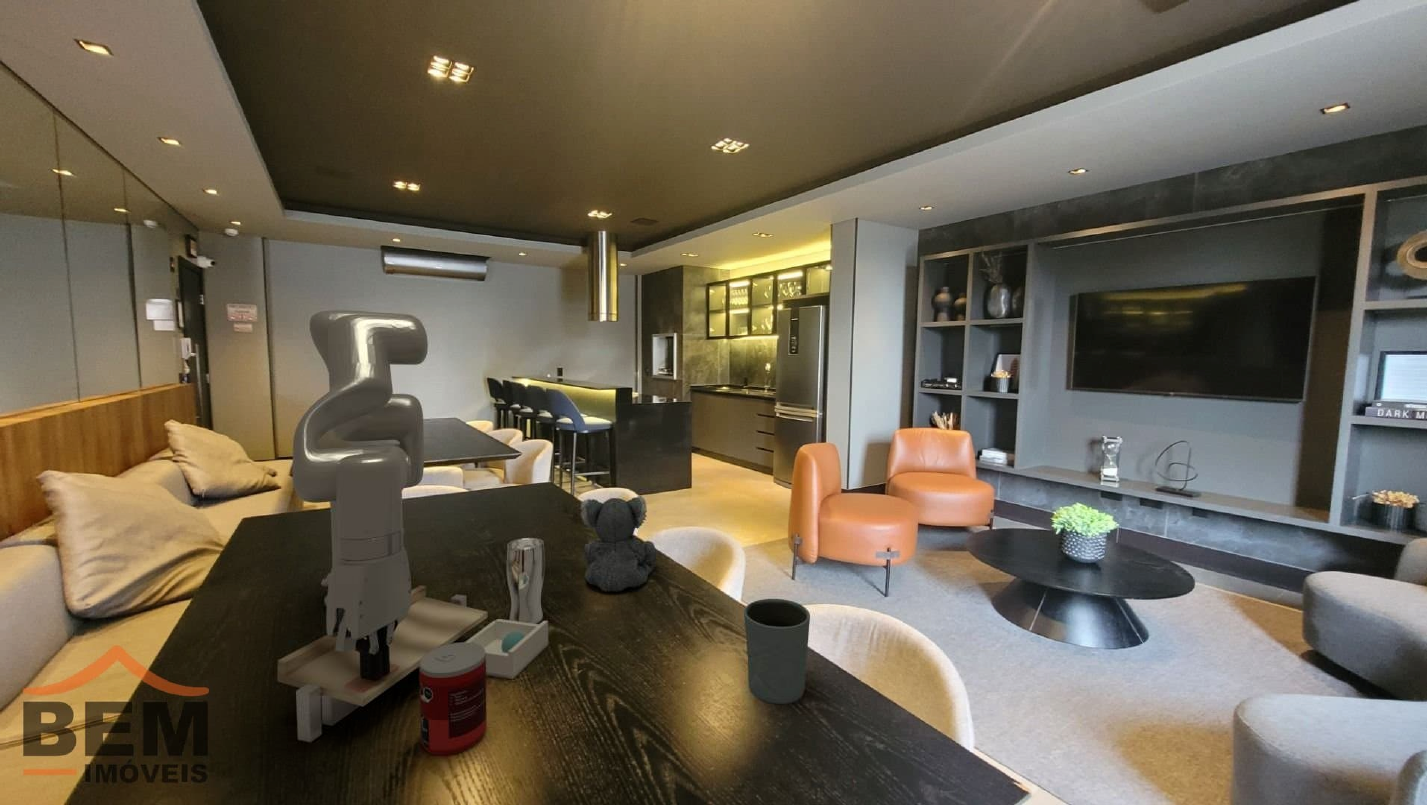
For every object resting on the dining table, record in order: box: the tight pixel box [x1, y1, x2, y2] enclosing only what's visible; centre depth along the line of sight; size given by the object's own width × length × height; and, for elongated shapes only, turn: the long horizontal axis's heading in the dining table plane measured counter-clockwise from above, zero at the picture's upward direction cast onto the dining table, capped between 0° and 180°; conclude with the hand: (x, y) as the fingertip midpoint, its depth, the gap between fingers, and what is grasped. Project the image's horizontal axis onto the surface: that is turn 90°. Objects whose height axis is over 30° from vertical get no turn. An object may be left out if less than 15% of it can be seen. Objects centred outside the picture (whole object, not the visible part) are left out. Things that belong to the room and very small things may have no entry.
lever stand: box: [295, 594, 467, 743], centre depth 86 cm, size 31×2×7 cm, turn 167°
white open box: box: [465, 618, 549, 680], centre depth 92 cm, size 11×11×4 cm
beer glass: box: [505, 537, 546, 624], centre depth 105 cm, size 7×7×15 cm
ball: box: [501, 632, 525, 653], centre depth 91 cm, size 4×4×4 cm
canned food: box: [418, 641, 488, 756], centre depth 72 cm, size 8×8×11 cm
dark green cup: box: [743, 598, 811, 705], centre depth 84 cm, size 10×10×12 cm
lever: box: [276, 584, 489, 707], centre depth 85 cm, size 26×14×4 cm, turn 167°
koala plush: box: [579, 495, 658, 593], centre depth 125 cm, size 17×18×20 cm
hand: (375, 675), depth 75 cm, fingers closed
